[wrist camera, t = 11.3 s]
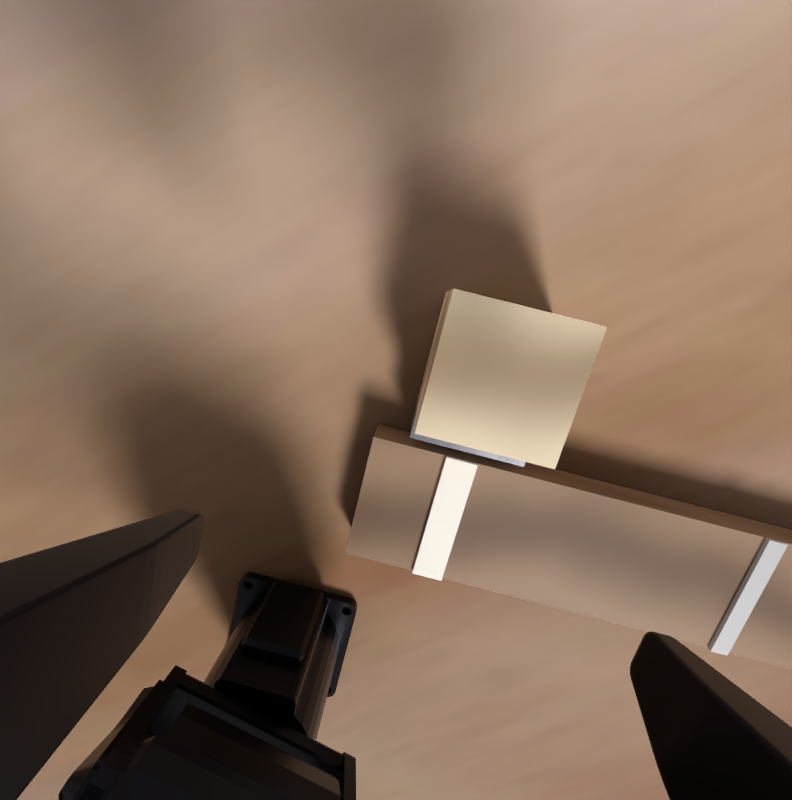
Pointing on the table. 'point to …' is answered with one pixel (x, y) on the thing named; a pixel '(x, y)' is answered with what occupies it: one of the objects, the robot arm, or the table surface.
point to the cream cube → (504, 379)
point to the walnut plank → (578, 546)
